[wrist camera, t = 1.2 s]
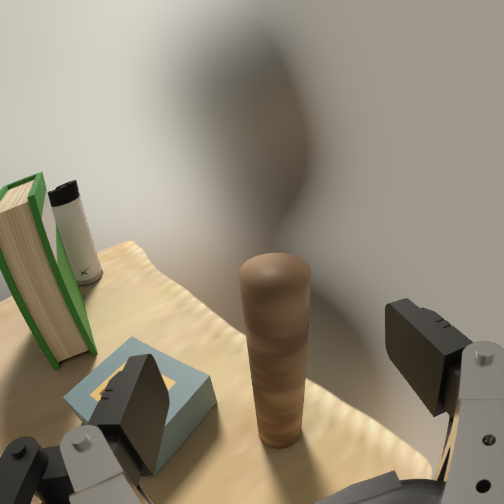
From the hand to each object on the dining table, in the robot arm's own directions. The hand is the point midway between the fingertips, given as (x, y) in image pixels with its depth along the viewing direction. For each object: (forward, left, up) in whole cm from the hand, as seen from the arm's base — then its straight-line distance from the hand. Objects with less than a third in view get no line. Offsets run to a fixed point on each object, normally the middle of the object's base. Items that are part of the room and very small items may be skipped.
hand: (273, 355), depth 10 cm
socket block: (-18, +3, -23) cm, 29 cm away
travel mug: (-51, +19, -23) cm, 59 cm away
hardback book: (-41, +7, -23) cm, 48 cm away
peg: (-4, +8, -23) cm, 25 cm away
